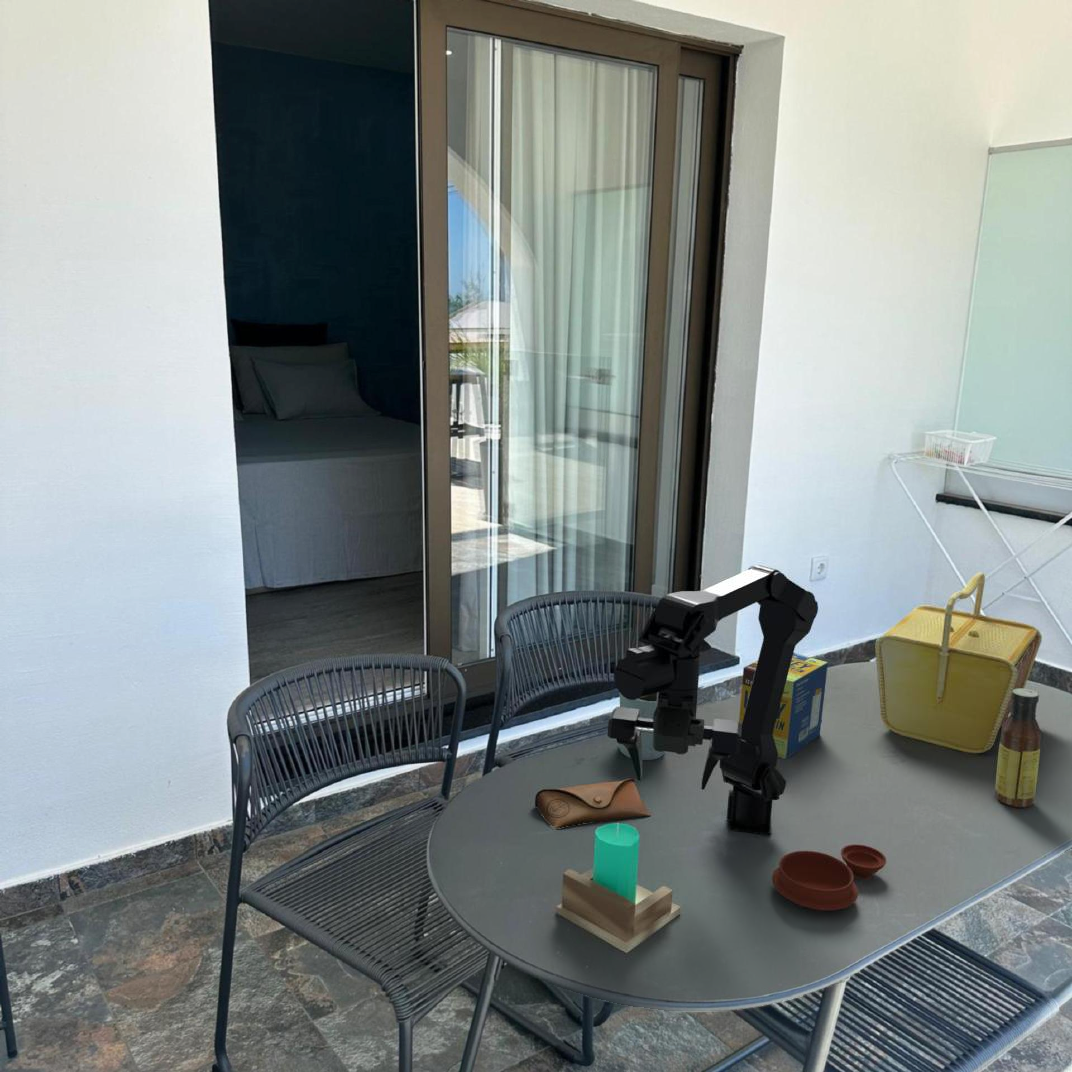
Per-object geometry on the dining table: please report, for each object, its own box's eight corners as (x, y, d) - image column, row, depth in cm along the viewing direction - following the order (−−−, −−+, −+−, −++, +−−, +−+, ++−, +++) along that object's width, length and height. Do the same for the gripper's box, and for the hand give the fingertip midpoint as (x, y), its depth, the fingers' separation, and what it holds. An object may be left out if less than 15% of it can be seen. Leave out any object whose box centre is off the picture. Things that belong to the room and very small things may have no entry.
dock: (611, 877, 140) (613, 840, 139) (680, 913, 132) (683, 873, 131) (556, 912, 131) (557, 873, 130) (626, 953, 124) (629, 911, 122)
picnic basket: (904, 688, 218) (920, 559, 211) (1030, 718, 203) (1052, 580, 196) (863, 730, 194) (879, 586, 188) (1002, 767, 180) (1025, 612, 173)
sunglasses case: (551, 831, 152) (545, 788, 154) (538, 833, 158) (532, 791, 160) (655, 815, 158) (648, 774, 160) (638, 817, 164) (631, 777, 166)
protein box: (735, 743, 186) (742, 667, 183) (773, 719, 198) (780, 647, 194) (786, 760, 180) (793, 681, 176) (821, 735, 191) (829, 660, 188)
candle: (593, 915, 129) (597, 834, 127) (590, 889, 135) (594, 811, 133) (638, 916, 130) (643, 835, 127) (632, 890, 135) (637, 812, 133)
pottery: (753, 890, 138) (756, 862, 138) (842, 850, 150) (845, 824, 149) (819, 933, 129) (823, 903, 128) (909, 886, 141) (912, 859, 140)
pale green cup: (615, 737, 187) (618, 679, 184) (667, 739, 187) (671, 681, 184) (617, 761, 177) (621, 699, 174) (673, 763, 177) (677, 702, 174)
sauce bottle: (1032, 797, 169) (1049, 689, 164) (1034, 812, 163) (1051, 702, 159) (991, 788, 171) (1007, 682, 167) (991, 803, 166) (1007, 694, 161)
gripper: (603, 696, 132) (598, 800, 136) (743, 712, 128) (734, 820, 131) (616, 668, 143) (610, 766, 146) (745, 683, 139) (736, 783, 142)
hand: (671, 784), depth 141 cm, fingers open, 9 cm apart
